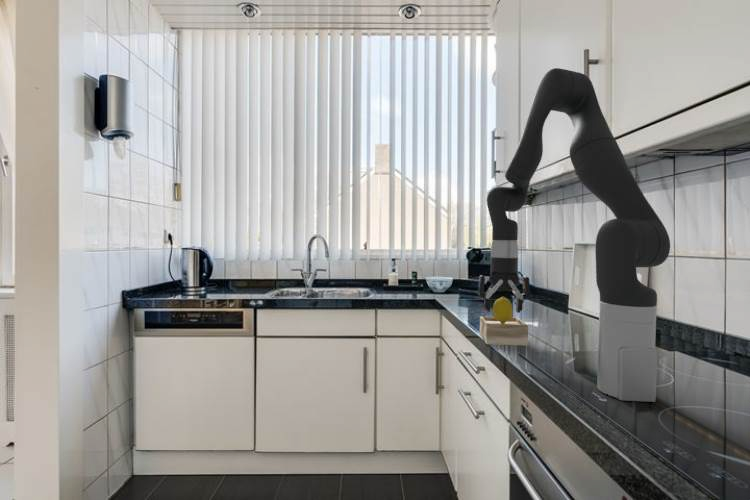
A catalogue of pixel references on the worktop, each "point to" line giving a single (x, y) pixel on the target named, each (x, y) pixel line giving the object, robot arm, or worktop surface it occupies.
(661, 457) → the worktop surface
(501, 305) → the lemon
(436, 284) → the chinaware
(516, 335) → the wooden box
